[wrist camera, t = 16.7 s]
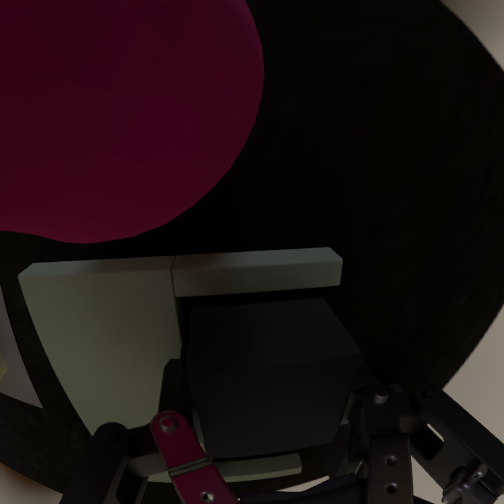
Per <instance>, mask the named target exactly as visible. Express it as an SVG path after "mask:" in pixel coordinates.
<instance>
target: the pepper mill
mask: <svg viewBox="0 0 504 504" xmlns="http://www.w3.org/2000/svg"><path fill="white" fill-rule="evenodd" d="M263 79H264V66H263V55H262V45H261V42H260V39H259V35H258V32H257V29H256V26H255V23H254V19H253V17H252V14H251V12H250V10H249V8H248V6H247V3H246V2H245V0H0V230H5V231H12V232H20V233H28V234H35V235H39V236H43V237H47V238H51V239H54V240H58V241H62V242H71V243H85V244H86V243H94V242H103V241H111V240H116V239H122V238H128V237H133V236H135V235H138V234H140V233H143V232H146V231H148V230H151V229H153V228H156V227H159V226H161V225H164V224H166V223H168V222H169V221H171V220H172V219H174V218H175V217H177V216H178V215H180V214H181V213H183V212H184V211H186V210H187V209H189V208H190V207H192V206H193V205H194V204H195V203H197V202H198V201H199V200H200V199H201V198H202V197H203V196H204V195H205V194H206V193H207V192H208V191H210V190H211V189H212V188H213V187H214V186H215V185H216V184H217V183H218V182H219V180H220V179H221V178H222V177H223V176H224V174H225V173H226V172H227V171H228V170H229V169H230V167H231V166H232V164H233V163H234V161H235V159H236V158H237V156H238V155H239V153H240V151H241V150H242V148H243V147H244V144H245V142H246V140H247V138H248V135H249V133H250V131H251V129H252V126H253V124H254V122H255V119H256V115H257V112H258V108H259V105H260V101H261V97H262V89H263Z"/></svg>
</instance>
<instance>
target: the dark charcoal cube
mask: <svg viewBox="0 0 504 504" xmlns="http://www.w3.org/2000/svg"><path fill="white" fill-rule="evenodd" d="M360 355H361V351H360V349H359V348H358V346H357V345H356V343H355V342H354V340H353V339H352V338H351V336H350V335H349V333H348V332H347V330H346V329H345V327H344V326H343V325H342V323H341V322H340V320H339V319H338V317H337V316H336V315H335V313H334V312H333V310H332V309H331V307H330V306H329V305H328V303H327V302H326V300H325V299H324V298H323V296H322V295H312V296H301V297H290V298H278V299H266V300H253V301H238V302H223V303H205V304H192V307H191V318H190V329H189V340H188V353H187V367H186V374H187V379H188V383H189V388H190V393H191V397H192V401H193V405H194V406H196V407H197V411H198V416H199V420H200V424H201V428H202V432H203V436H204V440H205V443H203V445H204V449H205V453H206V455H207V457H208V458H228V457H241V456H251V455H260V454H268V453H276V452H282V451H289V450H294V449H300V448H305V447H310V446H315V445H320V444H324V443H328V442H332V441H333V440H334V437H335V434H336V432H337V429H338V426H339V421H340V418H341V415H342V413H343V410H344V407H345V403H346V400H347V397H348V394H349V391H350V388H351V386H352V384H353V380H354V377H355V373H356V370H357V366H358V363H359V359H360Z"/></svg>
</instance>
